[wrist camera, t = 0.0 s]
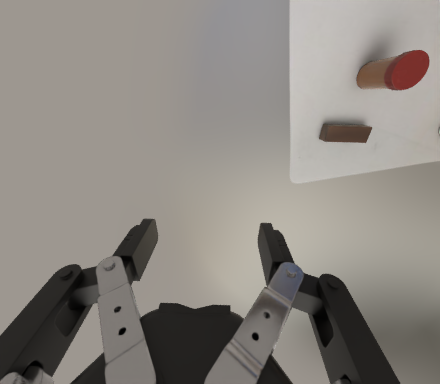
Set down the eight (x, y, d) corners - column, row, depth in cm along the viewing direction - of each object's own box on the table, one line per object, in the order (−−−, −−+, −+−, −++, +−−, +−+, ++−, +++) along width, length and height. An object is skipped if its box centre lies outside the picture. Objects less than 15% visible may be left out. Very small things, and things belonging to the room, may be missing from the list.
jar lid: (392, 51, 31) (401, 49, 29) (426, 52, 31) (437, 49, 29) (377, 89, 34) (385, 89, 32) (408, 90, 34) (417, 90, 32)
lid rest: (323, 124, 44) (329, 125, 42) (363, 125, 44) (372, 127, 42) (318, 138, 46) (324, 141, 44) (358, 139, 46) (366, 142, 43)
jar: (362, 60, 38) (400, 51, 30) (386, 61, 38) (431, 52, 30) (352, 89, 41) (385, 88, 32) (375, 89, 41) (414, 88, 32)
